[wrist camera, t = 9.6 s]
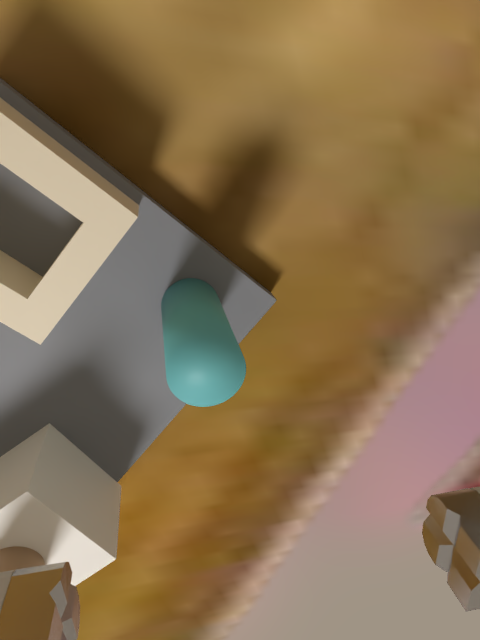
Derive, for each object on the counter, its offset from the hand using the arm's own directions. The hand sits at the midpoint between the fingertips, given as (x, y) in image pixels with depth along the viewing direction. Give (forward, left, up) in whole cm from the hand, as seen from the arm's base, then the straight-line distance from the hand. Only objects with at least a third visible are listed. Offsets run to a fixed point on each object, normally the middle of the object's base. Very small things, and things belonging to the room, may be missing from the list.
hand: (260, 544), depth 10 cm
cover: (-14, 0, -15) cm, 20 cm away
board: (-8, +5, -16) cm, 18 cm away
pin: (0, 0, -15) cm, 15 cm away
